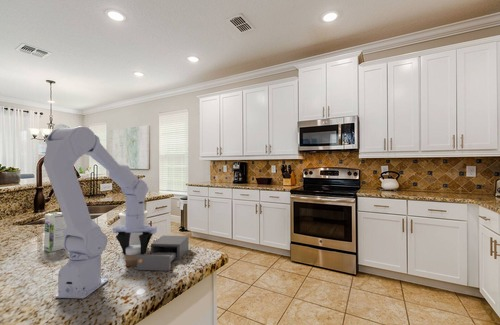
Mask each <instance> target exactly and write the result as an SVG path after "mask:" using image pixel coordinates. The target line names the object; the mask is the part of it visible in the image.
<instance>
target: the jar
mask: <svg viewBox="0 0 500 325" xmlns="http://www.w3.org/2000/svg"><path fill="white" fill-rule="evenodd" d="M147 215H148V211H147V210H145V209H144V226H149V225H148V217H147ZM118 217H119V218H120V219H119V222H118V226H126V211H122V212H119V213H118ZM141 234H143V233H131V235H130V241H129V246H130V245H134V244H140V239H139V236H140V235H141ZM121 253H123V251H122V249H121Z"/></svg>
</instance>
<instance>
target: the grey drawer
mask: <svg viewBox="0 0 500 325" xmlns="http://www.w3.org/2000/svg"><path fill="white" fill-rule="evenodd" d="M176 256H177V254H176V253H165V252H156V253H153V254H152V255H151V254H139V255H137V266H136V270H137V271H164V272H165V271H169V272H170V271H171V269H172V268H171V267H172V266H171V265H172V264H171V263H172V262H173V259H174V258H175V257H176Z"/></svg>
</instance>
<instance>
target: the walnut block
mask: <svg viewBox="0 0 500 325" xmlns="http://www.w3.org/2000/svg"><path fill="white" fill-rule="evenodd" d="M140 254H141V253H140ZM137 255H139V254H136V255H127V254H126V255H125V267H137Z"/></svg>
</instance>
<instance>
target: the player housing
mask: <svg viewBox="0 0 500 325" xmlns="http://www.w3.org/2000/svg"><path fill="white" fill-rule="evenodd" d="M189 238H190V237H189V235H162V236H160V237H159V238H157V239H156V240H154V241H153V242H152V243H150V255H152V254H153V253H156V252H165V253H176V254H177V256H176V257H175V258H174V259H173V260H175V261H178V260H179V261H180V260H181V259H182V258H183V256H185V255H186V254H187V252H188V251H189V246H190V245H189V242H190V241H189V240H190V239H189ZM173 260H172V261H173Z"/></svg>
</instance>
